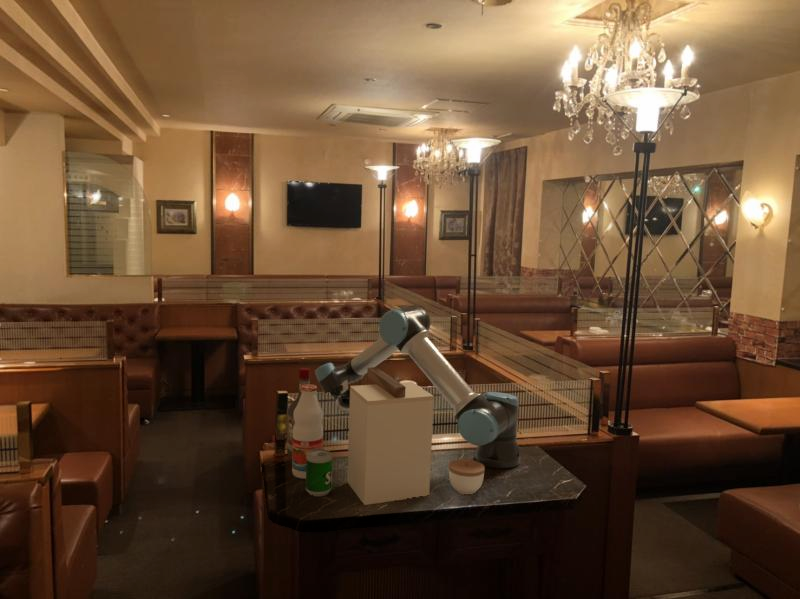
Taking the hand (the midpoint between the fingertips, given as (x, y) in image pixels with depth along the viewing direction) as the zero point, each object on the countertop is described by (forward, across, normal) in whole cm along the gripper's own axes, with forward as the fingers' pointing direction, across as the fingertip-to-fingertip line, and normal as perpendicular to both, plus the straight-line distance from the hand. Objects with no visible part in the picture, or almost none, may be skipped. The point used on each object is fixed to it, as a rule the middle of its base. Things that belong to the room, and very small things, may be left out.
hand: (366, 383), depth 201 cm
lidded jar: (+13, -22, -38) cm, 46 cm away
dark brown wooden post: (+16, 0, -5) cm, 17 cm away
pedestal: (+6, 0, -34) cm, 34 cm away
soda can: (+2, +20, -32) cm, 38 cm away
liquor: (-22, +18, -19) cm, 34 cm away
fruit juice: (-10, +20, -25) cm, 34 cm away
